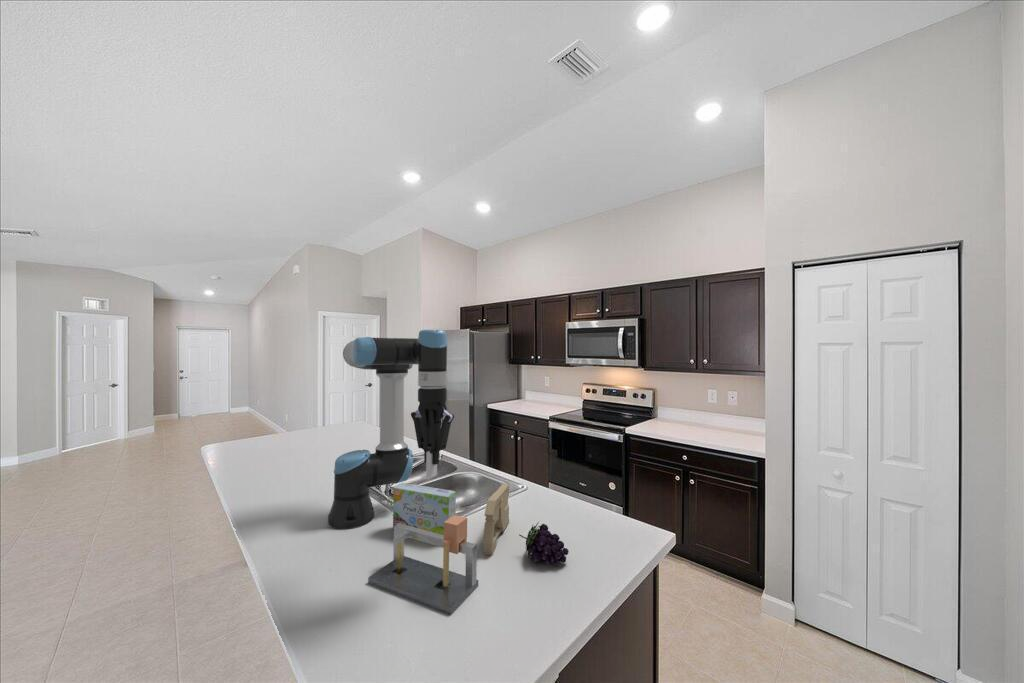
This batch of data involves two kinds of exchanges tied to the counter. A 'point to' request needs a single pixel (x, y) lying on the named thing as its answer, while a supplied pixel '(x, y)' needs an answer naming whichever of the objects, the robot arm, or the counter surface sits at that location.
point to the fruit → (545, 545)
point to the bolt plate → (423, 584)
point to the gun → (495, 518)
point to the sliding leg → (452, 541)
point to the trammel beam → (435, 539)
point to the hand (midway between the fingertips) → (431, 475)
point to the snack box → (423, 507)
